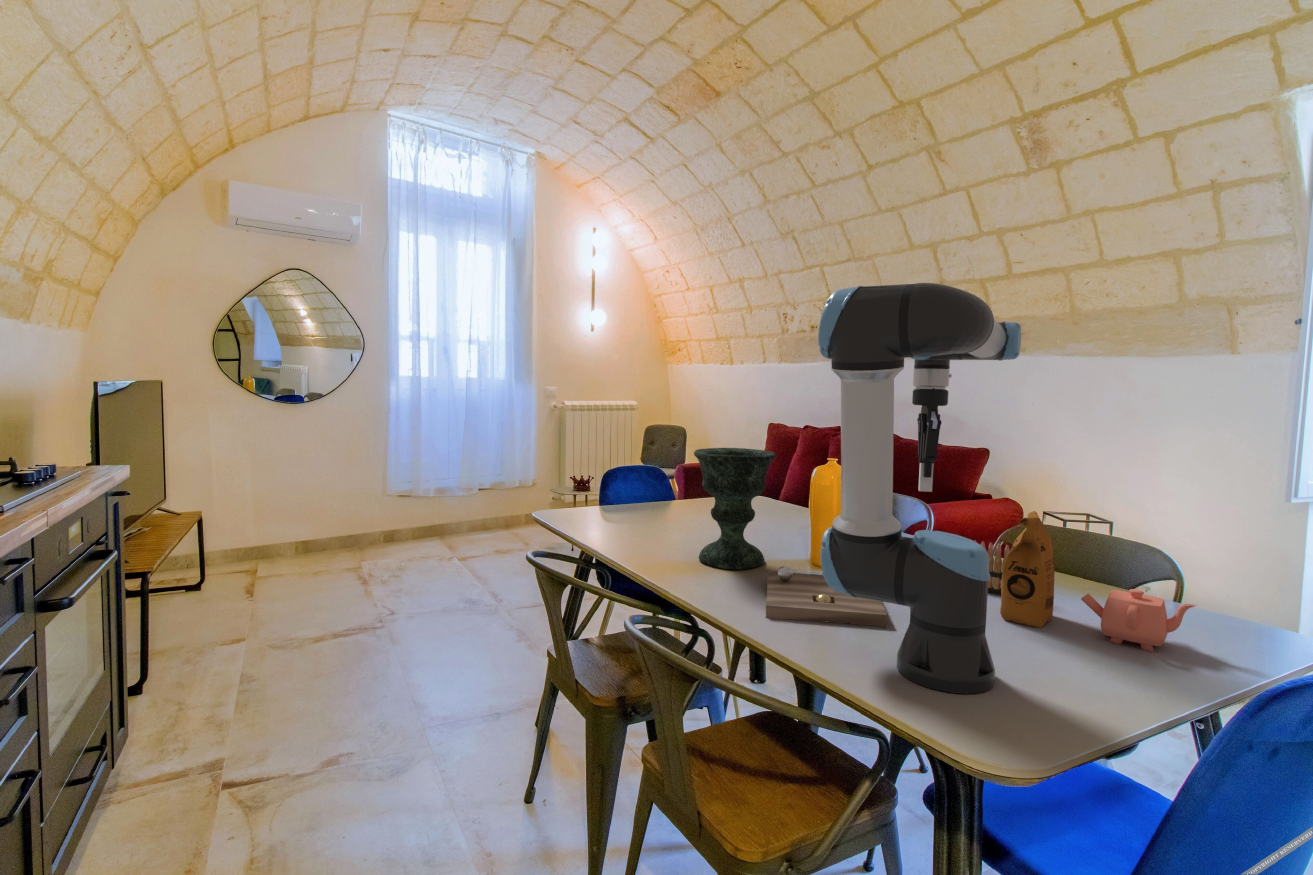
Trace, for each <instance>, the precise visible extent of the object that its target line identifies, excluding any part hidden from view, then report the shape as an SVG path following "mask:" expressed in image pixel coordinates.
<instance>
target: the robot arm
mask: <svg viewBox="0 0 1313 875" xmlns="http://www.w3.org/2000/svg"><path fill="white" fill-rule="evenodd" d="M817 336H818V338H817V339H818V340H817V342H818V346H819V352H820V354H821V356H822V357H823V358H826V359H827V360H831V362H830V363H831V371H832V372H833V373H834V374H836V376H837V377H838V378H839V380H840V503H841V504H840V507H841V508H840V509H841V510H840V514H839V515H838V516H836V517H835V518H834V519H833V520H832V526H830V527H828V528H827V529H826V530H824V533H823V535H822V539H821V548H820V550H819V552H820V554H819V555H820V566H821V571H822V575H823V576H824V579H825V581H826V583H827V584H828V585H829V586H830V588H831V589H832V590H834V591H836V592H839V593H843V594H847V595H850V596H852V597H860V598H866V599H871V600H877V601H881V602H882V603H888V604H893V605H900V606H902V607H904V606H905V607H908V608H909V609H910V610H909V611H910V614H909V624H908V627H907V629H906V631H905V633H904V636H903V639H902V641H901V643H900V646H899V648H898V650H897V653H896V669H897V670H898V672H899V673H900V674H901V675H902V676H903V677H904V678H906V679H908V680H909V681H911V682H914V683H916V684H918V685H919V686H923V687H926V688H929V689H932V690H937V691H941V692H945V693H954V694H979V693H984V692H986V691H989V690H990V689H992V688H993V687H994V686H995V679H996V677H995V676H996V670H995V669H996V668H995V665H994V661H993V658H992V654H991V651H990V646H989V644H988V640H987V637H986V631H987V630H986V626H987V610H988V609H987V608H988V595H989V593H988V580H989V579H990V573H989V555H988V550H987V549H986V547H985V548H984V547H983V546H981V543H978V542H977V541H976V542H975V541H974V540H972V539H970V538H967V537H966V536H965V537H964V536H961V535H958V534H955V533H949V532H945V531H940V530H930V529H920V530H917V531H915V533H914V534H913V537H908V536H903V535H902V534H903V533H902V523H901V522H900V521H899V520H898V519H897V518H896V517H895V516H894V515H893V504H894V503H893V502H894V501H893V497H894V496H893V495H894V492H893V490H894V430H895V429H894V427H895V426H894V423H895V422H894V421H895V420H894V419H895V418H894V416H895V412H894V410H895V408H894V407H895V378H896V377H897V376H898V375H899V374H900V373H901V371H903V370H904V368H905V358H910V359H913V360H914V366H913V376H912V377H913V378H912V386H913V387H915V388H913V390H912V401H911V402H912V405H913V406H921V408H920V412H919V413H918V417H917V419H916V420H917V458H918V463H919V470H918V471H919V473H918V474H919V475H918V487H917V488H918V492H930V493H932V492H933V483H934V482H933V481H934V479H933V478H934V466H935V462H937V459H938V458H937V457H938V449H939V448H938V447H939V440H940V439H939V438H940V430H941V425H942V420H941V414H940V413H939V407H946V406H948V402H949V391H948V389H946V388H948V387H949V382H950V381H949V380H950V379H951V378H952V375H953V374H952V373H950V366H951V364H950V363H951V361H967V360H968V361H972V360H973V361H1005V360H1006V361H1008V360H1015V359H1017V358H1018V357H1019V356H1020V352H1021V347H1022V345H1021V343H1022V327H1021V325H1020V324H1019V323H1018V322H1014V321H1013V322H1007V321H1006V320H1005V321H1001V322H998V320H997V321H996V319H995V316H994V314H993V310H992V309H991V308H990V306H989V305H988V303H986V301H984V300H983V299H982V298H981V297H978V296H977V295H975V294H974V293H971V292H969V291H967V290H964V289H960V288H957V287H953V286H951V285H946V284H941V283H934V282H933V283H932V282H917V283H905V284H904V283H903V284H885V285H870V286H869V285H866V286H863V285H859V286H855V287H854V286H853V287H848V288H841V289H837V290H836V291H834V292H833V293H832V294H830V296H829V297H828V299H827V300H826V302H825V304H824V307H823V309H822V312H821V316H820V319H819V324H818V335H817Z"/></svg>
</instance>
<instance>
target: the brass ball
mask: <svg viewBox="0 0 1313 875" xmlns="http://www.w3.org/2000/svg"><path fill="white" fill-rule="evenodd" d="M815 602H823V603H832V601H831V598H830V597H829V596H828V595H826V594H820V595H818V596H817V597H816V599H815Z"/></svg>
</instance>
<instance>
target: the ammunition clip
mask: <svg viewBox="0 0 1313 875" xmlns="http://www.w3.org/2000/svg"><path fill="white" fill-rule="evenodd" d="M973 541H975V542H977V540H976V539H974V540H973ZM985 544H986V543H985V541H984V540H983V541H981V543H980V545H981V546H983V547H984V548H985V549H986V545H985ZM1009 551H1010V546H1009V545H1008V544H1006V545H1005V548H1004V550H1003V557H1002V546H1001V544H1000V542H999V543H998V544H997V546H996V550H995V555H994V545H993V542H989V545H988V549H987V552H988V555H989V573H990V579H989V580H988V594H993V595H997V594H998V595H997V596H1001V580H1002V572H1003V566H1004V562H1005V559H1006V557H1007V554H1008V553H1009ZM994 556H995V557H994ZM1002 558H1003V560H1002Z"/></svg>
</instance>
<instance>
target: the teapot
mask: <svg viewBox="0 0 1313 875" xmlns="http://www.w3.org/2000/svg"><path fill="white" fill-rule="evenodd" d="M1107 596H1108V597H1107V599H1106V601H1105V604H1104V606H1102V605H1101V604H1100V603H1099V602H1098V601H1097V600H1096V599H1095V598H1094V597H1093V596H1092V595H1091V594H1090V593H1087V594H1085V595H1084V596H1083V597H1081V599H1080V600H1082V602H1083V603H1084V604H1086V606H1088V608H1090V610H1091V611H1093V612H1094V614H1096V615H1097V616H1098V617H1099V618H1100V620H1101V622H1100V629H1101V632H1102V635H1104V636H1106V637H1107V636H1108V637H1110V639H1109V642H1111V643H1113V644H1116V645H1122V644H1123V642H1124V641H1127V642H1131V643H1137V644H1139V646H1140V649H1142V650H1145V651H1150V652H1153V651H1155V650H1154V647H1162V646H1163V645H1164V643H1165V641H1166V640H1167V636H1168V633H1172V632H1174V631H1176V630H1177V629H1178V628H1180V626H1181V624H1182V622H1183V618H1184V616H1185V614H1186V612H1187V611H1188V610H1189V609H1192V608H1194V607H1197V606H1198V604H1194V603H1193V604H1192V603H1183V604H1181V605H1179V606H1178V607H1177V609H1176V612H1175V614H1174V615H1173V616H1172V617H1170V618H1168V615H1167V614H1168V613H1167V609H1166V604H1165V599H1164V598H1162V597H1157V596H1153V595H1148V594H1145V592H1144V591H1143V590H1140V589H1134V588H1130V589H1129V591H1125V590H1119V589H1112V590H1111V591H1110V592H1109V594H1108V595H1107Z"/></svg>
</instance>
